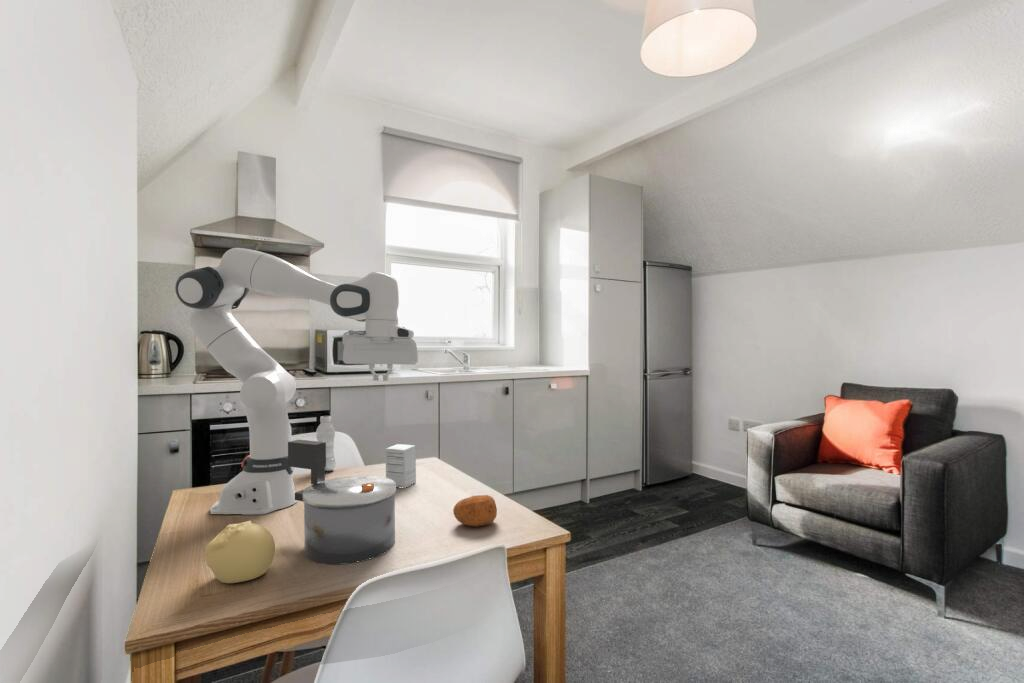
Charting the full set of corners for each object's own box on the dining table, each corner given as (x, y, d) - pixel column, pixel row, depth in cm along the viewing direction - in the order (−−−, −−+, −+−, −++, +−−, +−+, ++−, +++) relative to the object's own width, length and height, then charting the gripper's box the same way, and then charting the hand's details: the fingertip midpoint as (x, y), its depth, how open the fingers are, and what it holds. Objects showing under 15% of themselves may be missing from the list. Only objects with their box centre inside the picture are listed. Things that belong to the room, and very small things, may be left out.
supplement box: (397, 480, 169) (397, 443, 169) (416, 482, 166) (416, 445, 166) (385, 486, 162) (384, 448, 162) (404, 489, 159) (404, 449, 159)
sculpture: (228, 564, 106) (227, 513, 106) (284, 563, 107) (284, 513, 107) (194, 591, 95) (194, 534, 95) (258, 590, 95) (257, 533, 95)
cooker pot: (412, 537, 120) (412, 487, 120) (351, 571, 102) (350, 513, 102) (331, 519, 132) (331, 474, 132) (264, 547, 114) (263, 495, 114)
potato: (497, 531, 124) (496, 501, 123) (451, 532, 123) (451, 502, 123) (496, 518, 133) (496, 490, 133) (454, 519, 132) (454, 490, 132)
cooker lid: (413, 485, 121) (413, 441, 121) (355, 512, 102) (354, 460, 102) (324, 473, 132) (324, 433, 132) (257, 496, 113) (256, 449, 113)
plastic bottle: (329, 473, 178) (329, 418, 178) (312, 472, 179) (312, 417, 179) (339, 469, 184) (338, 415, 184) (322, 468, 186) (322, 414, 186)
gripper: (341, 329, 133) (339, 381, 133) (418, 331, 137) (417, 381, 137) (344, 330, 139) (342, 379, 139) (418, 332, 143) (417, 380, 143)
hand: (380, 380), depth 138 cm, fingers closed
